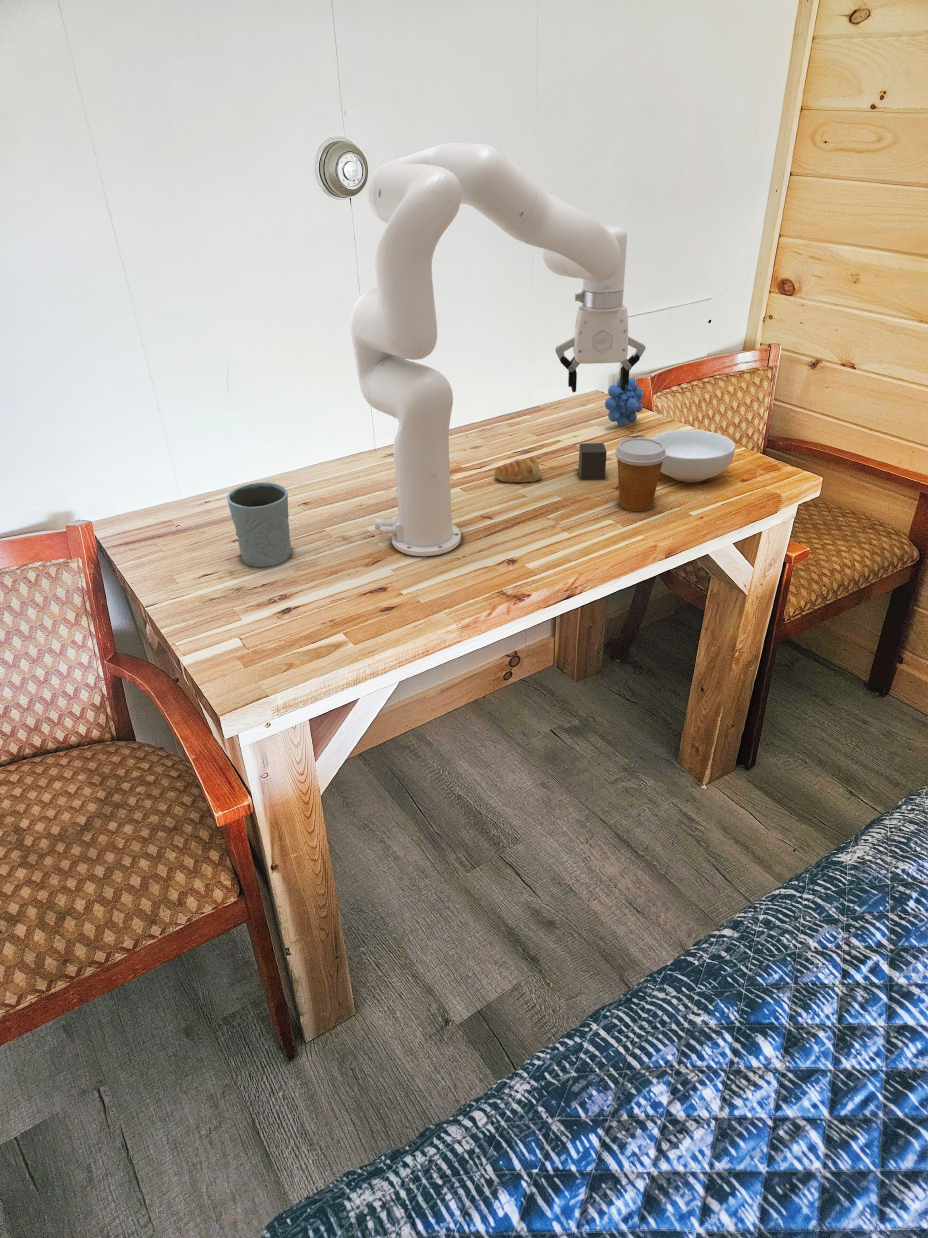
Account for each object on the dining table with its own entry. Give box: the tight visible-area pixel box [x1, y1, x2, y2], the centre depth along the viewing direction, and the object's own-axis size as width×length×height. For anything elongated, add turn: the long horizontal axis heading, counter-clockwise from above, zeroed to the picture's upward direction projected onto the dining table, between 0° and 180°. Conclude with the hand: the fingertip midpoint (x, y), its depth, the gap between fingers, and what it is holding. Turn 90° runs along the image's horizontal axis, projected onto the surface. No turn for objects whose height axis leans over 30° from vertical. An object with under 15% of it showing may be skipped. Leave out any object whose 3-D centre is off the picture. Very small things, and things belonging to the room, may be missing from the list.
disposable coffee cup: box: [614, 437, 667, 512], centre depth 156 cm, size 10×10×12 cm
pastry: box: [494, 457, 542, 483], centre depth 171 cm, size 9×7×4 cm
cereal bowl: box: [651, 429, 736, 483], centre depth 169 cm, size 17×17×7 cm
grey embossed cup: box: [226, 482, 292, 568], centre depth 143 cm, size 10×10×12 cm
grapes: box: [604, 377, 644, 427], centre depth 192 cm, size 12×7×12 cm, turn 123°
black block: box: [578, 442, 607, 480], centre depth 171 cm, size 5×5×6 cm
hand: (597, 389), depth 163 cm, fingers open, 9 cm apart
